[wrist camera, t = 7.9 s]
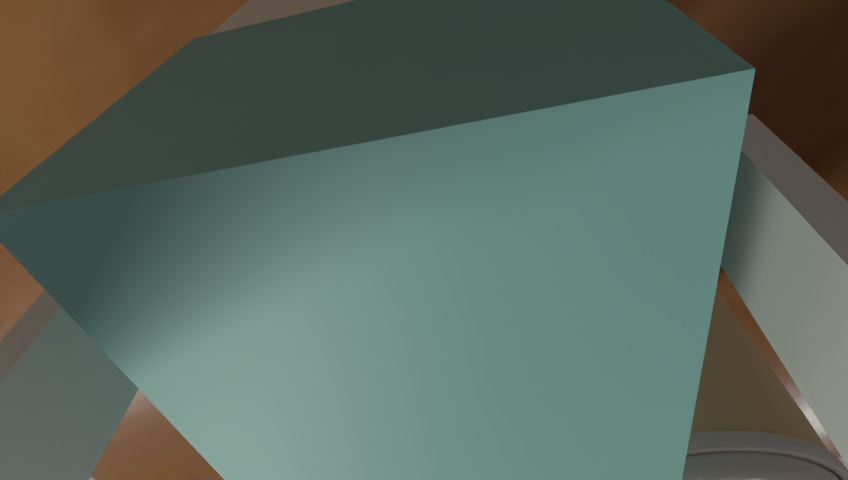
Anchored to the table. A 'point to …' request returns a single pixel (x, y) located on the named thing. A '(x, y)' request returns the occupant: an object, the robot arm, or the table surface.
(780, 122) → the table surface
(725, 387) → the coffee cup
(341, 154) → the teal block
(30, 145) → the table surface
